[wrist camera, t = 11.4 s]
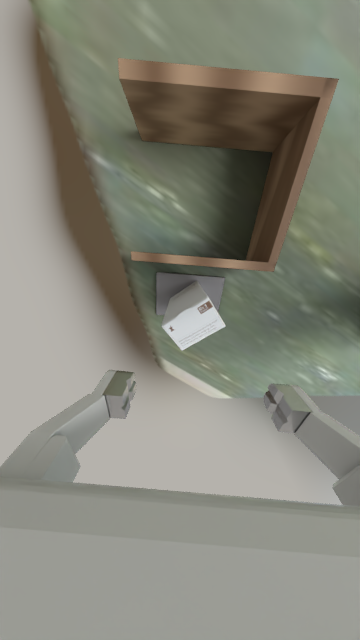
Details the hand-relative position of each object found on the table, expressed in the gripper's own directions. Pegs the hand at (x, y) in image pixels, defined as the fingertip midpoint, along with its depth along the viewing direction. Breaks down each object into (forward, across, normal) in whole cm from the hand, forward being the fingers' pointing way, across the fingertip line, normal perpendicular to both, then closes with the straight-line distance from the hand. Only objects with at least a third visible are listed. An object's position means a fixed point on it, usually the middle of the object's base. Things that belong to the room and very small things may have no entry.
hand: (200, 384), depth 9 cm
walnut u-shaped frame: (+20, -1, -13) cm, 24 cm away
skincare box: (+20, 0, 0) cm, 20 cm away
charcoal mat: (+20, 0, 0) cm, 20 cm away
